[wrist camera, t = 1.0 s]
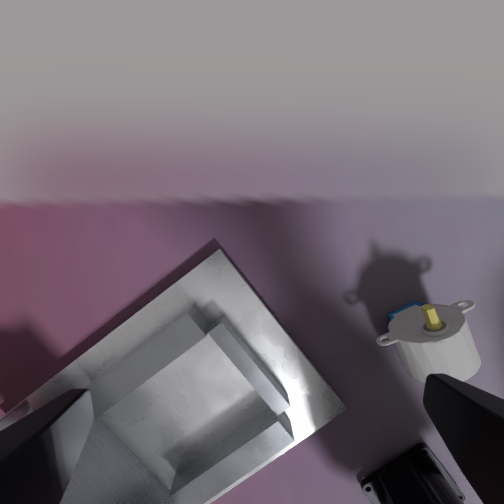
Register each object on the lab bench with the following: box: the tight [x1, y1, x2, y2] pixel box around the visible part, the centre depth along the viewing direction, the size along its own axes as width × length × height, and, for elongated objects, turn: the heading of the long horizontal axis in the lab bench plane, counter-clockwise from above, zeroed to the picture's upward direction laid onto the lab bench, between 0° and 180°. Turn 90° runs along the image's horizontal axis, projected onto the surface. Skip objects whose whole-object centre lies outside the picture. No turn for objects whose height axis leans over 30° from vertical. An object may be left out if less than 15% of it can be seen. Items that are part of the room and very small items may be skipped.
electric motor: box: [376, 300, 481, 383], centre depth 19 cm, size 7×5×5 cm
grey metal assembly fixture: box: [0, 248, 347, 504], centre depth 18 cm, size 16×22×8 cm
